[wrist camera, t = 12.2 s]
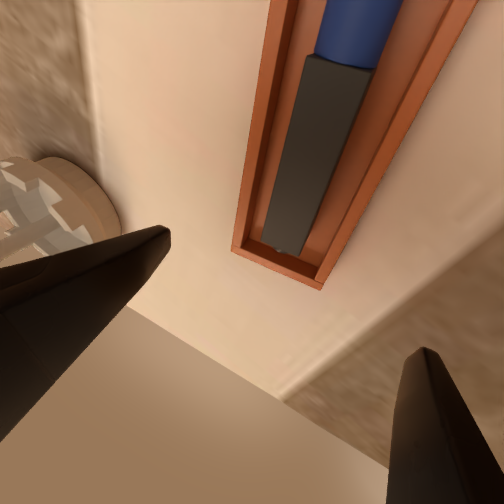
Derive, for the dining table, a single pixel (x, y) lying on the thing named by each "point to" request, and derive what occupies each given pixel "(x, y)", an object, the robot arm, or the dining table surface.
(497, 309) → the dining table surface
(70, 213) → the flag stand
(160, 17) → the dining table surface
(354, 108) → the marker
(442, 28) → the pen tray
